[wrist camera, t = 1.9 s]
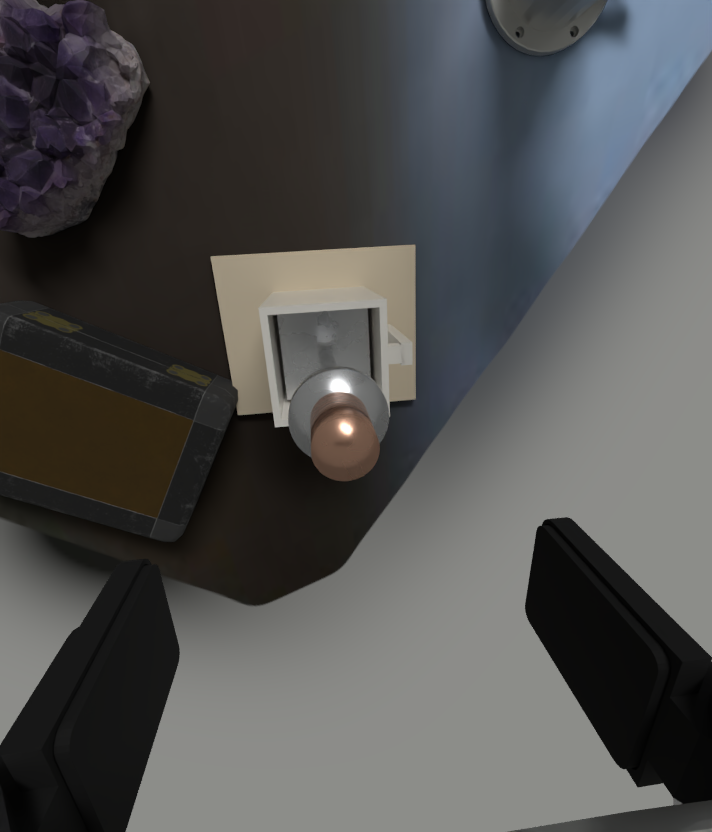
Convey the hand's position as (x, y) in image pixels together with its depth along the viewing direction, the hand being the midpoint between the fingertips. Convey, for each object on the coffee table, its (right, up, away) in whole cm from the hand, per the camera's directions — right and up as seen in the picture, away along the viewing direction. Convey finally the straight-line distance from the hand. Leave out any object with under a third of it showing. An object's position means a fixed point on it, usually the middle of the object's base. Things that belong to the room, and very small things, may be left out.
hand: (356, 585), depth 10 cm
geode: (-27, +31, +30) cm, 51 cm away
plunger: (-3, +10, +28) cm, 30 cm away
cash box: (-29, +4, +40) cm, 50 cm away
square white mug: (-4, +14, +39) cm, 41 cm away
